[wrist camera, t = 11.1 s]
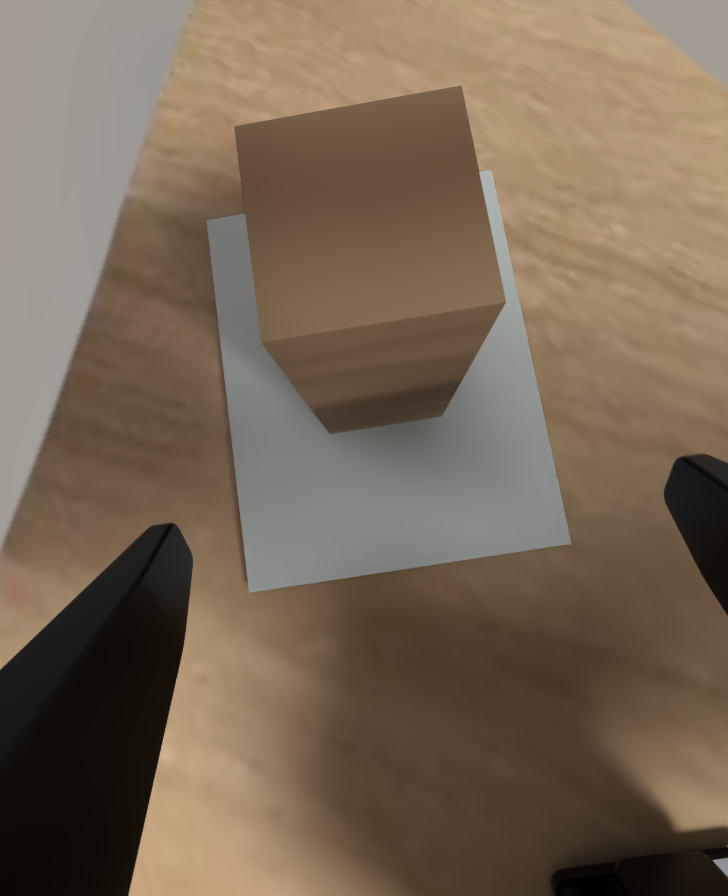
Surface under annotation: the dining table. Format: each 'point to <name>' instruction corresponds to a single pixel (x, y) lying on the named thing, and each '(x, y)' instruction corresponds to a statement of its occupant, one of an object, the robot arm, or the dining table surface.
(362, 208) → the walnut block
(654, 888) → the robot arm
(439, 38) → the dining table surface
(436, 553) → the mat
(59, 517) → the dining table surface
